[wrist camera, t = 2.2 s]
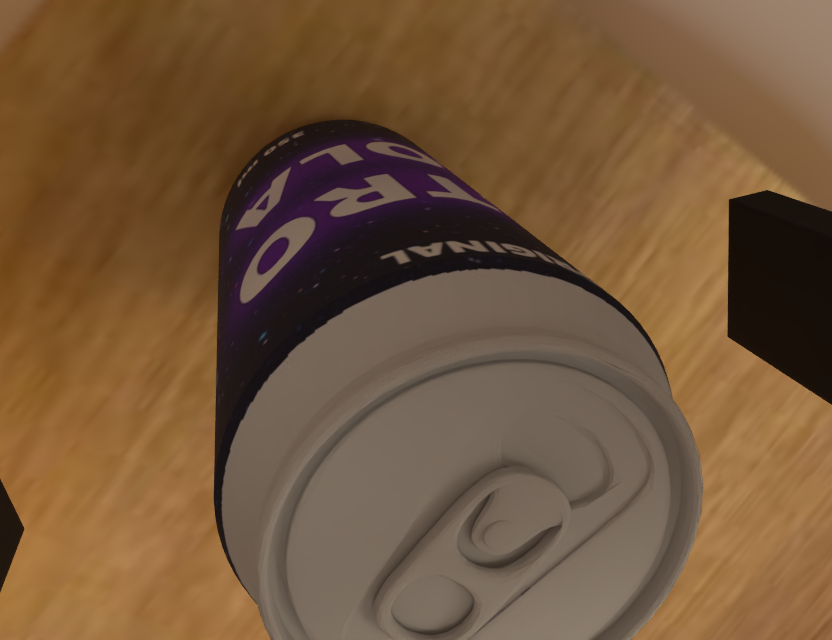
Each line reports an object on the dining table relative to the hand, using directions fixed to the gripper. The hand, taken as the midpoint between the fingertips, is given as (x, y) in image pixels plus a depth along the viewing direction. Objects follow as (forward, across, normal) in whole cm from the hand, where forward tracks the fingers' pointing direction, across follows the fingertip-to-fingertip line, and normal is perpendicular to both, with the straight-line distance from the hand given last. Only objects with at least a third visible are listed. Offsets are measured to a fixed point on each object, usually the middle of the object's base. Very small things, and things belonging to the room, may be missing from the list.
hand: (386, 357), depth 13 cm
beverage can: (+7, 0, 0) cm, 7 cm away
